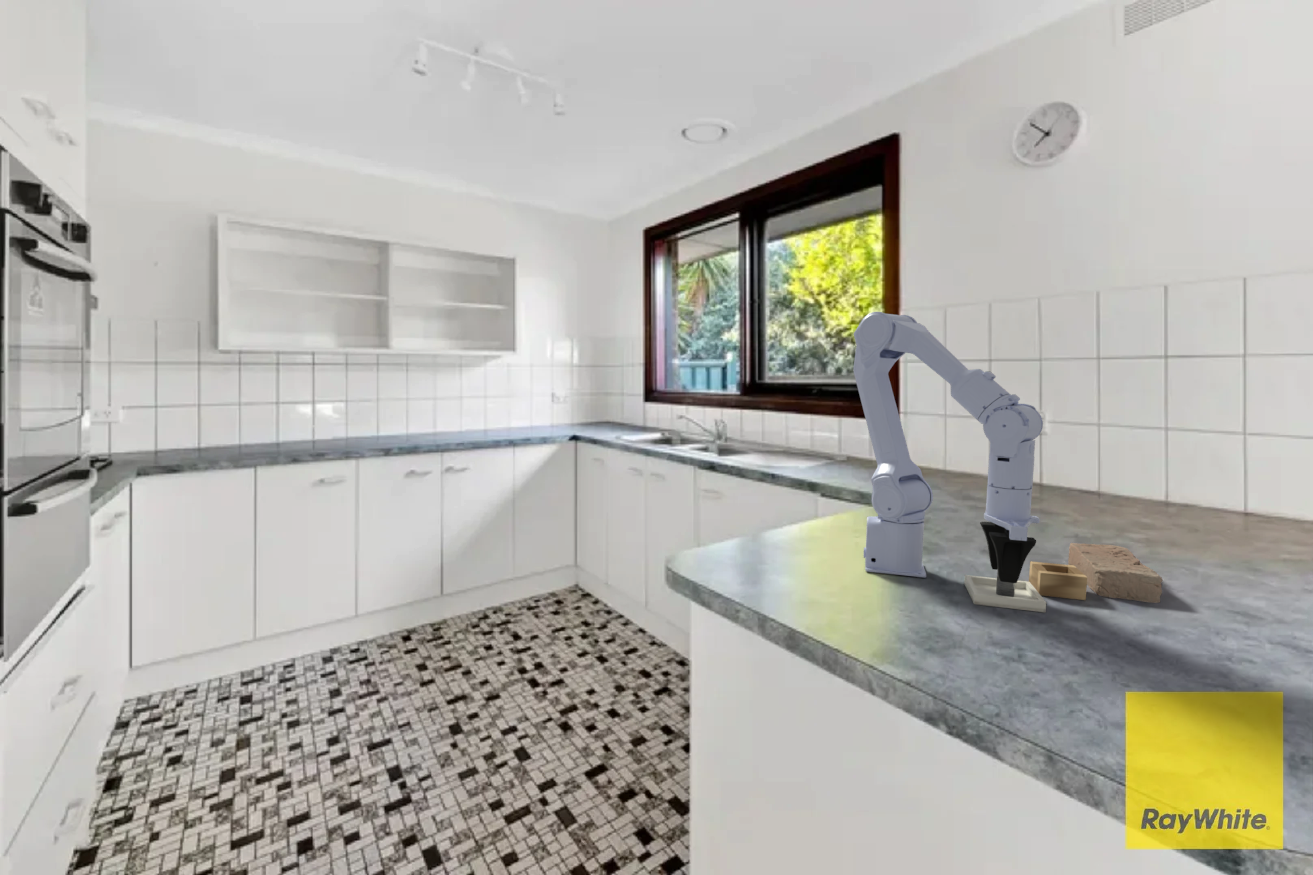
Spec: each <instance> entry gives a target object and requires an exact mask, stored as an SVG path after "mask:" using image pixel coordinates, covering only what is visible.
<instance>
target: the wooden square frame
mask: <svg viewBox="0 0 1313 875" xmlns="http://www.w3.org/2000/svg"><path fill="white" fill-rule="evenodd" d="M1028 582H1030V583H1031V584H1032V585H1033V587H1034V588H1035V589H1036V590H1037V591H1038V593H1039V594H1040V595H1041V596H1043V597H1044V596H1045V597H1052V598H1053V597H1054V598H1062V599H1072V600H1079V601H1080V600H1082V601H1086V599H1087V586H1088V585H1087V577H1086V576H1085V575H1084V574H1083V573H1082V572H1081V571H1080V570H1079V569H1077V568H1076V567H1075V566H1074V565H1068V564H1064V563H1063V564H1062V563H1053V562H1040V561H1030V562H1029V572H1028Z"/></svg>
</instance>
